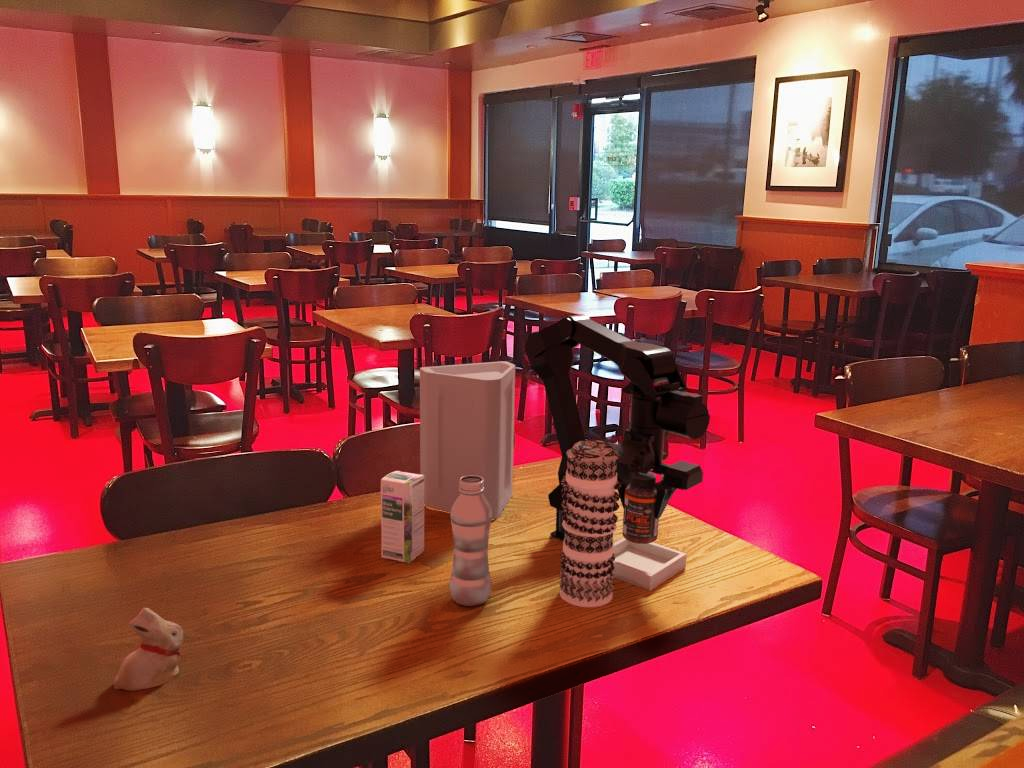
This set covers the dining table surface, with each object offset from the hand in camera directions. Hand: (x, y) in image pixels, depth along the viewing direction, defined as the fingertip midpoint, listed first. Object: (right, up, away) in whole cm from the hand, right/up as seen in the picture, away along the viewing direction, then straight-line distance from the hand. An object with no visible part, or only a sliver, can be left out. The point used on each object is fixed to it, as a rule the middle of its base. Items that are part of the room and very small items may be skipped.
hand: (641, 513), depth 138 cm
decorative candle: (-10, -12, -7) cm, 17 cm away
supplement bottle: (0, -5, +1) cm, 5 cm away
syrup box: (-41, -8, +5) cm, 42 cm away
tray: (0, -10, +2) cm, 10 cm away
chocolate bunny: (-68, -17, -32) cm, 77 cm away
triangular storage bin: (-29, -3, +28) cm, 40 cm away
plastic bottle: (-28, -12, -10) cm, 32 cm away
